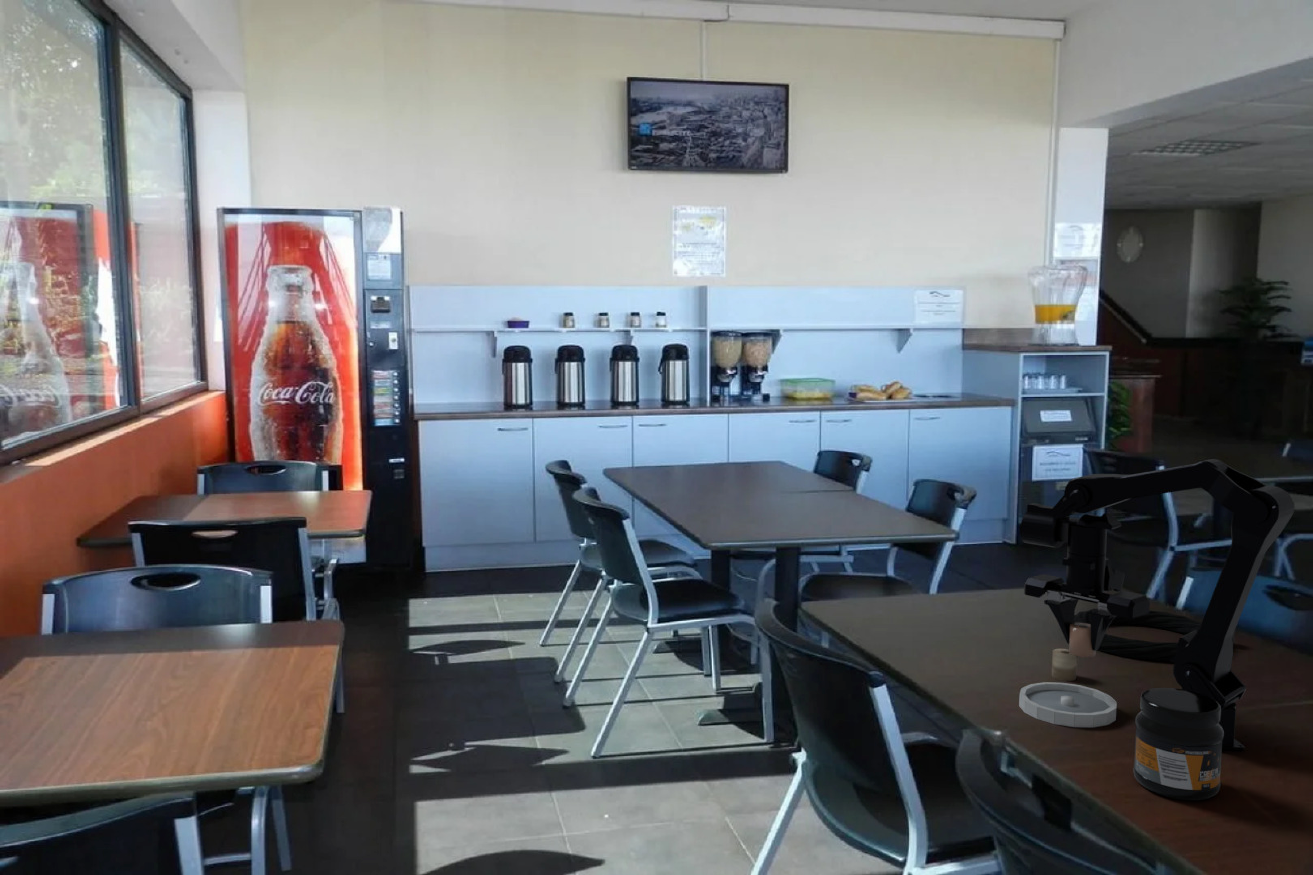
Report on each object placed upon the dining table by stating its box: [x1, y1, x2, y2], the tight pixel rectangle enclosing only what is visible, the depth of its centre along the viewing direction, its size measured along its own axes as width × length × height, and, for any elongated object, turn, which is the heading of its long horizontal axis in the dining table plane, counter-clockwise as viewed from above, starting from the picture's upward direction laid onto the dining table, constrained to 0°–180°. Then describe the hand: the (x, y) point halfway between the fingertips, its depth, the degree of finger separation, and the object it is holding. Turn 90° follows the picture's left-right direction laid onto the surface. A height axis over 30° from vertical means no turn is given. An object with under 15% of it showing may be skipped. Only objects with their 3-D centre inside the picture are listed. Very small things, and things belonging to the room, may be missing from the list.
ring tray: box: [1018, 681, 1118, 728], centre depth 163 cm, size 14×14×2 cm
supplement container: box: [1132, 687, 1224, 801], centre depth 136 cm, size 10×10×12 cm
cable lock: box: [1074, 608, 1235, 662], centre depth 200 cm, size 28×4×30 cm
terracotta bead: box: [1068, 623, 1097, 658], centre depth 165 cm, size 4×4×4 cm
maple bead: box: [1051, 648, 1078, 682], centre depth 179 cm, size 4×4×5 cm
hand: (1082, 646), depth 165 cm, fingers closed on terracotta bead, 4 cm apart
